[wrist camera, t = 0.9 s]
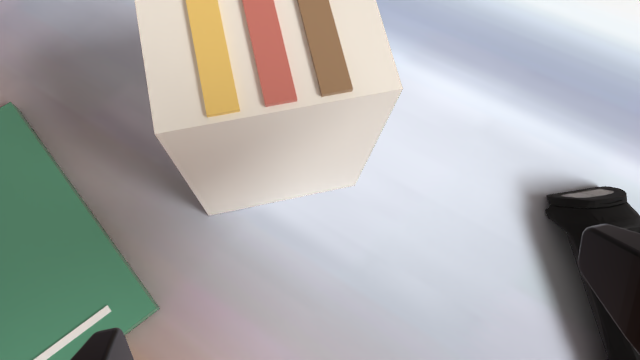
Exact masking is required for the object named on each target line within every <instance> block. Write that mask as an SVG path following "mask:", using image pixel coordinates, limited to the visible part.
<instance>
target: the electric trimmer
mask: <svg viewBox="0 0 640 360" xmlns="http://www.w3.org/2000/svg"><path fill="white" fill-rule="evenodd" d="M547 199H548V203H549V204H551V205H550V206H549V207H548V208H547V209H546V210H545V212H546V214H547V217H548V218H549V219H550V220H552V221H553V222H554V223H556V224H557V225H558V226H560V227H561V228H562V229H563V230H564V231H565V232H566V233H567V235H568V238H569V241H570V244H571V247H572V250H573V253H574V256H575V259H576V262H577V265H578V257H579V251H580V245H581V239H582V234H583V231H584V230H585V229H586V228H588V227H591V226H595V225H600V224H609V225H613V226H616V227H619V228H623V229H626V230H629V231H633V232H636V233H639V234H640V215H639V214H638V213H637V212H636V211H635V210H634V209H633V208H632V207H631V206H630V205H629V204H628V203H627V196H626V193H625V191H623V190H621V189H618V188H613V187H606V186H605V187H595V188H589V189H582V190H576V191H570V192H564V193H558V194H551V195H547ZM596 207H597V208H596ZM578 268H579V266H578ZM579 271H580V269H579ZM580 274H581V277H582V280H583V283H584V286H585V289H586V292H587V295H588V298H589V301H590V304H591V307H592V310H593V313H594V316H595V319H596V322H597V325H598V328H599V331H600V334H601V337H602V340H603V343H604V346H605V349H606V352H607V355H608V360H640V354H639V353H638V352H637V351H636V349H635V348H634V347H633V346H632V345H631V343H630V342H629V341H628V340H627V338H626V337H625V336H624V334H623V333H622V332H621V330H620V329H619V327H618V326H617V325H616V323H615V322H614V320H613V319H612V317H611V316H610V314H609V313H608V312H607V310H606V309H605V307H604V306H603V304H602V303H601V301H600V300H599V298H598V297H597V295H596V294H595V293H594V291H593V290H592V288H591V287H590V285H589V284H588V282H587V281H586V279H585V278H584V277H583V275H582V273H581V272H580Z"/></svg>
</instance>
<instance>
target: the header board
mask: <svg viewBox="0 0 640 360" xmlns="http://www.w3.org/2000/svg"><path fill="white" fill-rule="evenodd" d="M159 309H160V308H159V307H158V305H157V304H156V303H155V301H154V300H153V298H152V297H151V295H150V294H149V293H148V291H147V290H146V288H145V287H144V286H143V284H142V283H141V281H140V280H139V279H138V277H137V276H136V274H135V273H134V272H133V270H132V269H131V267H130V266H129V264H128V263H127V262H126V260H125V259H124V257H123V256H122V255H121V253H120V252H119V250H118V249H117V248H116V246H115V245H114V243H113V242H112V241H111V239H110V238H109V236H108V235H107V233H106V232H105V231H104V229H103V228H102V226H101V225H100V224H99V222H98V221H97V219H96V218H95V217H94V215H93V214H92V212H91V211H90V210H89V208H88V207H87V205H86V204H85V202H84V201H83V200H82V198H81V197H80V195H79V194H78V193H77V191H76V190H75V188H74V187H73V186H72V184H71V183H70V181H69V180H68V179H67V177H66V176H65V174H64V173H63V171H62V170H61V169H60V167H59V166H58V164H57V163H56V162H55V160H54V159H53V157H52V156H51V155H50V153H49V152H48V150H47V149H46V148H45V146H44V145H43V143H42V142H41V140H40V139H39V138H38V136H37V135H36V133H35V132H34V131H33V129H32V128H31V126H30V125H29V124H28V122H27V121H26V119H25V118H24V117H23V115H22V114H21V112H20V111H19V109H18V108H17V107H16V106H15V105H14V104H12V103H11V102H9V103H8V104H6V105H4V106H3V107H1V108H0V360H70V359H71V358H72V357H73V356H74V355H75V354H76V353H77V351H78V350H79V349H80V348H81V347H82V346H83V345H84V344H85V343H86V341H87V340H88V339H89V338H90V337H91V336H92V335H93V334H94V333H95V332H98V331H101V330H106V329H111V328H115V327H117V328H120V329H121V330H122V331H123V333H124V335H126V334H127V333H128V332H130V331H131V330H132V329H134V328H135V327H136V326H138V325H139V324H140V323H141V322H143V321H144V320H145V319H147V318H148V317H149V316H151V315H152V314H153V313H155V312H156V311H157V310H159Z"/></svg>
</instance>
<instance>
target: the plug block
mask: <svg viewBox="0 0 640 360" xmlns="http://www.w3.org/2000/svg"><path fill="white" fill-rule="evenodd" d="M135 7H136V13H137V20H138V27H139V33H140V40H141V47H142V54H143V60H144V67H145V74H146V80H147V87H148V94H149V100H150V107H151V114H152V120H153V127H154V134H155V135H156V137H157V139H158V140H159V142H160V143H161V145H162V146H163V148H164V149H165V151H166V152H167V154H168V155H169V157H170V158H171V160H172V161H173V163H174V164H175V166H176V167H177V169H178V170H179V172H180V173H181V175H182V176H183V178H184V179H185V181H186V182H187V184H188V185H189V187H190V188H191V190H192V191H193V193H194V194H195V196H196V197H197V199H198V200H199V202H200V203H201V205H202V206H203V208H204V209H205V211H206V212H207V214H208V215H209V216H211V215H215V214H220V213H225V212H230V211H235V210H240V209H244V208H249V207H254V206H259V205H264V204H269V203H274V202H278V201H283V200H288V199H293V198H298V197H303V196H307V195H312V194H317V193H322V192H327V191H332V190H336V189H341V188H346V187H351V186H355V184H356V182H357V180H358V178H359V176H360V174H361V172H362V170H363V168H364V166H365V164H366V162H367V160H368V158H369V156H370V154H371V152H372V150H373V148H374V146H375V144H376V142H377V140H378V138H379V136H380V134H381V132H382V130H383V128H384V126H385V124H386V122H387V120H388V118H389V116H390V114H391V112H392V110H393V108H394V106H395V104H396V102H397V100H398V98H399V96H400V94H401V92H402V89H403V88H402V84H401V81H400V78H399V75H398V71H397V68H396V65H395V62H394V58H393V55H392V52H391V48H390V45H389V42H388V39H387V35H386V32H385V29H384V26H383V22H382V19H381V16H380V12H379V9H378V6H377V3H376V0H135Z"/></svg>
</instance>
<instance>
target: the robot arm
mask: <svg viewBox="0 0 640 360" xmlns="http://www.w3.org/2000/svg"><path fill="white" fill-rule="evenodd" d="M578 266H579V269H580V272H581V273H582V275H583V277H584V278H585V279H586V281H587V282H588V284H589V285H590V287H591V288H592V290H593V291H594V293H595V294H596V295H597V297H598V298H599V300H600V301H601V303H602V304H603V306H604V307H605V309H606V310H607V312H608V313H609V314H610V316H611V317H612V319H613V320H614V322H615V323H616V325H617V326H618V327H619V329H620V330H621V332H622V333H623V334H624V336H625V337H626V338H627V340H628V341H629V342H630V343H631V345H632V346H633V347H634V348H635V349H636V351H637V352H638V353H639V354H640V234H639V233H636V232H633V231H629V230H626V229H623V228H619V227H616V226H613V225H609V224H600V225H595V226H591V227H588V228H586V229H585V230H584V231H583V234H582V239H581V245H580V251H579V257H578ZM70 360H134V359H133V356H132V354H131V351H130V349H129V346H128V343H127V341H126V338H125V336H124V333H123V331H122V330H121V329H120V328H117V327H115V328H111V329H106V330H101V331H98V332H95V333H94V334H93V335H92V336H91V337H90V338H89V339H88V340H87V341H86V343H85V344H84V345H83V346H82V347H81V348H80V349H79V350H78V351H77V353H76V354H75V355H74V356H73V357H72V358H71V359H70Z"/></svg>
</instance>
